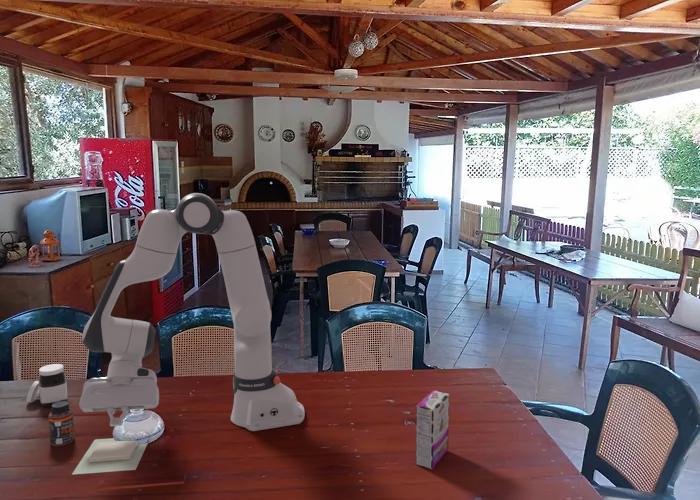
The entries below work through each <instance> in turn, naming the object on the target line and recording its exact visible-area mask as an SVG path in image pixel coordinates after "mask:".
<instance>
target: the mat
mask: <svg viewBox="0 0 700 500" xmlns="http://www.w3.org/2000/svg"><path fill="white" fill-rule="evenodd" d="M114 438H115V437H113V438H112V437H111V438H96V439H94V440H93V441H92V443H91V445H90V447H89V448H88V449H87V451H86V452H85V453H84V454H83V457H82V458H81V459H80V461H79V462H78V464H77V466H76V467H75V468H74V470H73V472H72V474H71V475H74V476H75V475H83V474H84V475H85V474H96V473H97V474H98V473H113V472H124V471H125V472H126V471H136V469H137V468H138V465H139V463H140V461H141V458H142V457H143V454H144V453H145V451H146V448H147V446H148V444H149V442H148V443H146V444H140V445H137V447H136V449H135V451H134V453H133V455H132V457H131V459H130V460H118V461H105V462H92V463H90V462H89V458H90V456H91V455H92V453H93V451H94V450H95V448H96V447H97V445H98V444H99V443H102V442H116V441H115V440H114Z"/></svg>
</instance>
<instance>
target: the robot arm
mask: <svg viewBox="0 0 700 500" xmlns="http://www.w3.org/2000/svg"><path fill="white" fill-rule="evenodd" d="M187 233H191V234H195V235H211V236H212V238H213V240H214V242H215V247H216V251H217V252H216V253H217V255H218V259H219V263H220V267H221V271H222V275H223V279H224V284H225V288H226V289H225V290H226V294H227V295H226V296H227V300H228V304H229V308H230V309H229V310H230V314H231V319H232V322H233V356H234V358H233V359H234V372H233V377H232V386H233V388H232V389H233V393H234V395H233V396H234V397H233V406H232V411H231V415H230V421H231V422H232V423H233V424H235V425H236V426H238V427H242V428H245V429H246V430H248V431H250V432H258V431H262V430H270V429H275V428H283V427H287V426H288V427H289V426H293V425H300V424H301V423H302V422H303V421H304V420H305V416H306V415H305V414H306V413H305V412H306V411H305V408H304V405H303V404H302V403H300V402H299V401H298V399H297V396H296V394H295V392H294V391H293V389H291V388H290V387H288V386H286V385H285V384H283V383H281V378H280V376H279V373H278V370H277V369H275V370H273V367H272V363H273V362H272V336H271V321H272V309H271V305H270V304H271V303H270V300H269V296H268V292H267V289H266V284H265V279H264V275H263V271H262V266H261V261H260V259H259V254H258V250H257V246H256V240H255V236H254V235H253V230H252V228H251V226H250V223H249V221H248V219H247V216H246V214H244V213H243V212H242V211H239V210H235V209H229V210H221V208H220V207H218V205H217V204H216V203H215V201H214V200H213V198H211V197H210V196H208V195H207V194H204V193H201V192H200V193H199V192H193V193H192V192H191V193H189V194H187V195H185V196H184V197H182V199H180V201H179V202H178V204H177V205H176V206H175V207H174V208H173V209H172V210H170V209H163V208H158V209H153V210H151V211H149V212H148V213H147V214H146V217H145V218H144V220H143V223H142V224H141V227H140V229H139V233H138V235H137V239H136V242H135V246H134V248H133V250H132V252H131V254H130V255H129V256H128V257H127V258H126V259H123V260H120V261H118V263H117V264H116V265H115V267H114V269H113V270H112V273H111V275H110V277H109V278H108V281H107V283H106V285H105V286H104V289H103V291H102V293H101V296H100V298H99V300H98V302H97V304H96V306H95V309H94V311H93V313H92V314H91V316H90V318H89V319H88V321H87V323H86V324H85V326H84V328H83V332H82V341H81V342H82V344H83V345H84V346H85V348H87V349H88V350H89V351H90V352H91V353H111V360H110V362H109V364H108V368H107V369H108V370H107V374H106V376H105V377H91V378H89V379H87V380H86V381H84V383H83V386H82V393H81V396H80V400H79V403H78V407H79V408H80V410H82V412H83V413H92V412H93V413H95V412H96V413H97V412H107V414H108V416H109V418H110V420H109V426H110V427H116V426H117V427H121V426H123V425H124V420H125V418H126V417H127V416H128V415H129V413H130V410H145V409H156V408H157V406H159V403H160V391H159V390H160V389H159V386H158V385H157V382H158V377H157V375H156V373H155V371H154V370H152V369H149V368H147V367H143V364H142V363H143V362H142V359H143V358H145V357H147V356H148V355H150V354H151V353H152V352H153V350H154V348H155V339H156V332H157V330H156V329H155V327H154V325H152V323H151V322H148V321H144V320H137V319H130V318H123V317H122V318H121V317H114V316H112V315H111V314H112V311H113V309H114V306H116V303H117V300H118V298H119V296H120V293H121V292H122V291H123V290H124V289H125V288H127V287H128V286H130V285H134V284H139V283H144V282H151V281H156V280H158V279H161V278H163V277H165V276H166V275H168V273H170V272H171V270H172V268H173V266H174V265H175V260H176V257H177V254H178V251H179V250H178V249H179V244H180V242H181V240H182V238H183V237H184V235H185V234H187ZM116 411H121V412H122V413H121V414H120V416H119V417H114V415H115V413H116Z"/></svg>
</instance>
